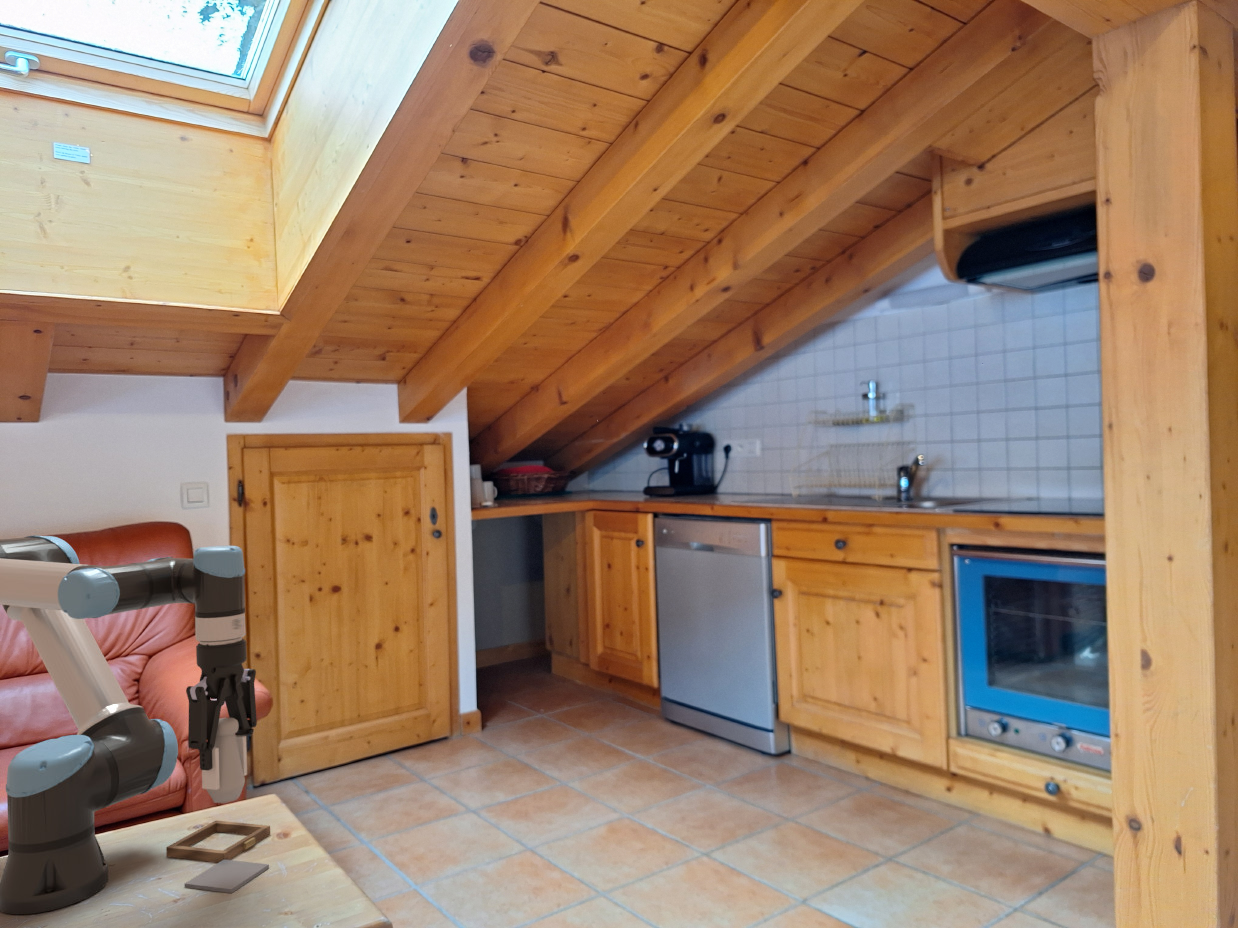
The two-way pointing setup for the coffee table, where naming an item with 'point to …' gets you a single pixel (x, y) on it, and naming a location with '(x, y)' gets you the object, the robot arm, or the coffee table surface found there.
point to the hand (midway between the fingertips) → (225, 780)
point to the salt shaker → (228, 763)
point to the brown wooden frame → (185, 851)
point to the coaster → (227, 876)
